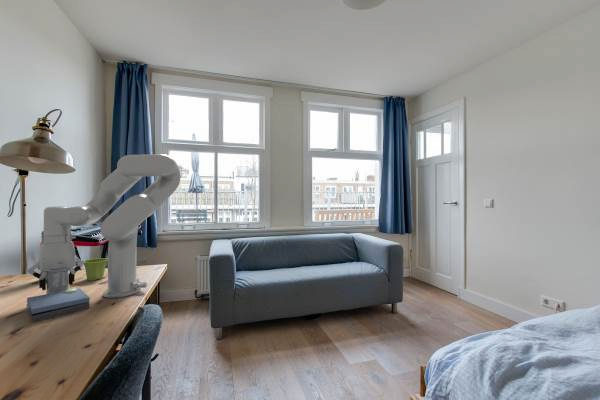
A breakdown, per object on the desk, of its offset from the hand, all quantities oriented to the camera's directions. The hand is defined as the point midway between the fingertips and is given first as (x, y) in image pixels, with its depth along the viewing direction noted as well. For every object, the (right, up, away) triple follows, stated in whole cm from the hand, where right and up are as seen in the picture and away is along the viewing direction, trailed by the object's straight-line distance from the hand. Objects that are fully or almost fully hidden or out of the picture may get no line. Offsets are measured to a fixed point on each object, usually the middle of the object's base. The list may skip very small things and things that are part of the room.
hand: (57, 286), depth 99 cm
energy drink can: (0, -5, 0) cm, 5 cm away
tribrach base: (+8, -5, -9) cm, 13 cm away
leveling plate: (+8, -3, -9) cm, 12 cm away
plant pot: (-5, -5, +25) cm, 26 cm away
